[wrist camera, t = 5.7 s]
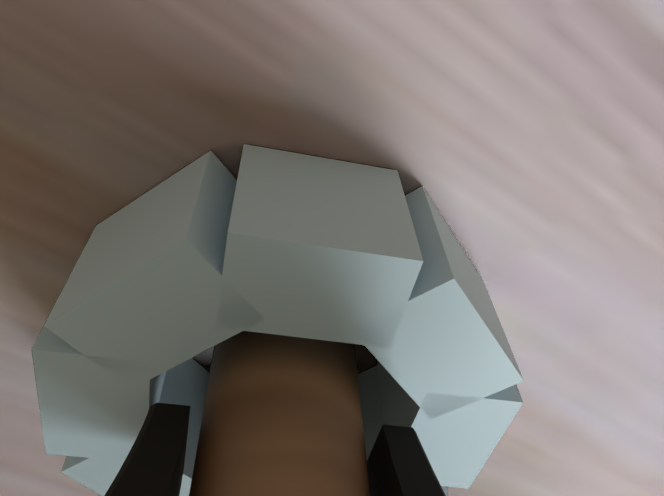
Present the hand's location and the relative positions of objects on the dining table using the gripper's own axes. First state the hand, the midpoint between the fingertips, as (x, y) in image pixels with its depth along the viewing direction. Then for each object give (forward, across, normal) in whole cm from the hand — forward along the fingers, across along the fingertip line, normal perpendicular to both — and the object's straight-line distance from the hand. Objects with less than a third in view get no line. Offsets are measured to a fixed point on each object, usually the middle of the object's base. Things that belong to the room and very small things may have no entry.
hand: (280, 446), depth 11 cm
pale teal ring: (+3, 0, 0) cm, 3 cm away
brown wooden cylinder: (+3, 0, 0) cm, 4 cm away
